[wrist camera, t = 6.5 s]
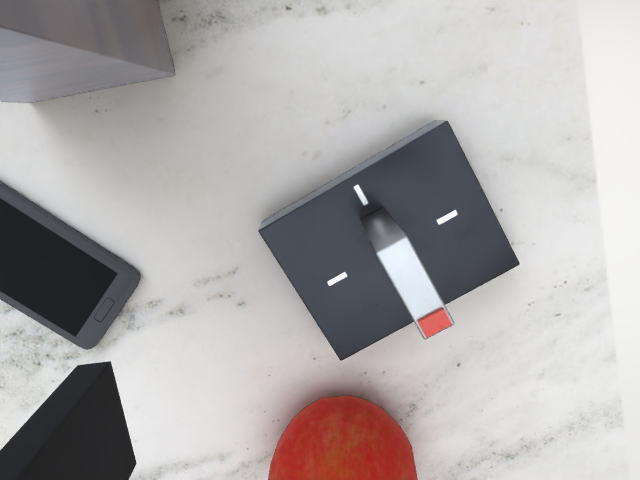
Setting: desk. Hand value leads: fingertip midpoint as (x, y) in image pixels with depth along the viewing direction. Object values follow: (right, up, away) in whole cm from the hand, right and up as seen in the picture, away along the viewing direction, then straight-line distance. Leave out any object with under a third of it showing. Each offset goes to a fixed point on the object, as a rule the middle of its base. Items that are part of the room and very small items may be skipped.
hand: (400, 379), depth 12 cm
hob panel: (+3, +3, +25) cm, 25 cm away
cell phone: (-22, +2, +25) cm, 33 cm away
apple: (0, -13, +29) cm, 32 cm away
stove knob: (+3, +3, +22) cm, 22 cm away
